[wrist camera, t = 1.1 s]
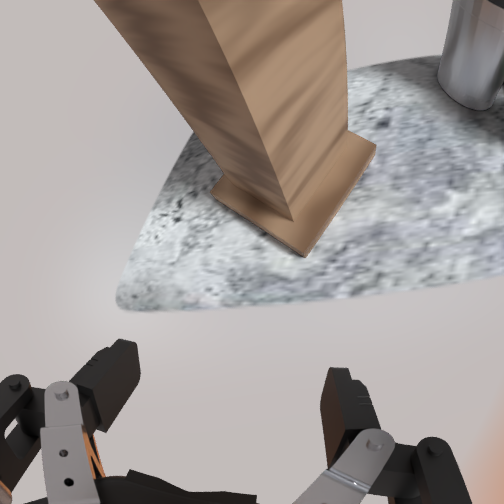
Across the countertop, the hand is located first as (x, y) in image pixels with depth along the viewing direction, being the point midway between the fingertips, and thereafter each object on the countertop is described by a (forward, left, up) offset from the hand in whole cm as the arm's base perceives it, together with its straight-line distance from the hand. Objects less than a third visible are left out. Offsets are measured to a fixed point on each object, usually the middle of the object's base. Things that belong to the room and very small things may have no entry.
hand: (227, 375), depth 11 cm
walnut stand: (-18, -1, -17) cm, 25 cm away
